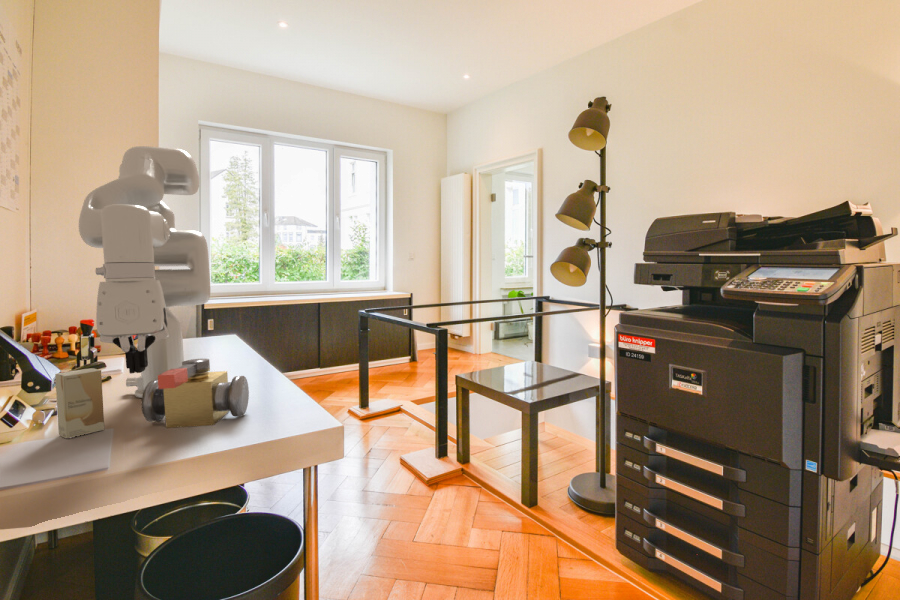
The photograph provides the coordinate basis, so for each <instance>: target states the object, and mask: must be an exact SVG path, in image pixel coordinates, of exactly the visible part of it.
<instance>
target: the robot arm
mask: <svg viewBox="0 0 900 600" xmlns="http://www.w3.org/2000/svg"><path fill="white" fill-rule="evenodd" d="M118 173H119V175H118V178H116V179H113V180H111V181H109V182H107V183H105V184H103V185H100V186H99V187H97V188H95V189H93V190H92V191H90V192H89V193H88V194H87V195H86V196H85V199H84V202H83V204H82V207H81V210H80V214H79V219H78V232H79V237H80V238H81V240H82V241H83V242H84V243H85V244H86V245H88V246H90V247H91V248H94V249H95V248H96V249H102V250H103V251H102V252H103V264H102V266H101V267H96V268H95V271H94V272H95V274H96V276H103V279H104V280H105V281H99V285H98V288H97V289H98V290H97V297H96V298H97V299H96V319H95V320H96V330H97V334H98V335H100V336H99V341H100V342H101V343H106V344H113V345H116V346H117V347H118V348H120V349H121V351H122V352H123V353H124V354H125V366H126V369H128V371H129V374H134V373H135V374H140V376H138V377H137V376H136V377H127V379H126V381H125V386H126V387H137V388H136V390H135V391H134V396H135V397H136V398H139V399H140V398H141V399H142V396H143V392H144V389H145V387H146V386H147V384H148V383H149V382H150V381H152V380H158V375H160V374H162V373H164V372H166V371H168V370H170V369H176V368H178V367H181V366H182V362H183V361H185V355H184V338H183V337H184V336H183V326H182V322H181V320H180V318H179V317H178V316H177V315H176V314H175V313H174V312H173V311H172V310H170V309H169V308H171V307H173V308H174V307H183V306H184V307H186V306H187V307H188V306H189V307H190V306H200V305H205V304H207V303H208V301H209V300H210V297H211V278H210V277H211V276H210V260H209V259H210V257H209V249H208V243H207V239H206V237H205V236H204V234H203V233H202V232H199V231H197V230H187V229H186V230H185V229H178V230H177V229H176V225H175V221H176V220H175V219H176V218H175V213H174V212H173V210H172V209H171V208H170V207H169V206H168V205H167V204H166V203H165V202H164V201H163V199H164V196H165V195H171V196H172V195H175V196H176V195H177V196H193V195H195V194H196V193H197V192H198V190H199V187H200V177H199V171H198V169H197V164H196V162H195V160H194V158H193V157H192V156H191V154H190V153H188V152H187V151H185V150H183V149H180V148H171V147H170V148H169V147H158V146H145V145H138V146H134V147H133V146H132V147H130V148H129V149H127V150H126V151H125V152H124V153H123V156H122V160H121V164H120V166H119V170H118ZM155 267H188V269H187V268H186V269H184V268H183V269H182V268H181V269H179V268H178V269H176V268H175V269H172V268H171V269H170V268H169V269H166V268H165V269H162V268H161V269H156V268H155ZM134 336H137V343H136V344H137V345H135V341H134Z"/></svg>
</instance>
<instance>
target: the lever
mask: <svg viewBox="0 0 900 600" xmlns="http://www.w3.org/2000/svg"><path fill="white" fill-rule="evenodd" d="M210 367H211V366H210V359H209V358H193V359H188V360H184V361H183V362H182V366H181V367H178V368H176V369H170V370H168V371H166V372H164V373H162V374H160V375H158V387H159V389H167V388H176V387H178V386H180V385H181V384H183V383H185V382H187V381H188V378H190V377H192V376H193V375H195V374H199V373H204V372H211V371H210V370H211V368H210Z"/></svg>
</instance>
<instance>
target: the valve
mask: <svg viewBox="0 0 900 600" xmlns="http://www.w3.org/2000/svg"><path fill="white" fill-rule="evenodd" d="M228 378H229V377H228V370H224V371H208V372H204V373H199V374H195V375H193V376H192V377H190V378H188V381H187V382H185V383H183V384H181V385H180V386H178V387H176V388H167V389H159V387H158V380H152V381H150V382H149V383H148V384H147V386H146V387H145V389H144V392H143V396H142V398H141V412H142V414H143V417H144V419H145V420H146V421H147V422H160V421H162V420H163V419H164V418H165V428H166V429H172V428H173V429H174V428H187V427H189V428H190V426H191V427H205V426H206V427H207V426H208V427H209V426H214V425H216V424H217V423H218V422H219V421H220V420H222V418H223V417H224V416H225V415H227V414H228V413H227V412H230V414H231V416H232V417H242V416H244V415H245V413H247V408H248V405H249V398H250V397H249V395H250V392H249V391H250V390H249V383H248V379H247V377H246V376H245V375H241V376H240V375H236V376H234V377H232V380H231V381H230V382H229V380H228ZM226 413H227V414H226Z"/></svg>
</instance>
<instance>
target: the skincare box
mask: <svg viewBox="0 0 900 600" xmlns="http://www.w3.org/2000/svg"><path fill="white" fill-rule="evenodd" d="M54 378H55V391H56V393H55V395H56V409H57V410H56V411H57V422H58V423H57V427H58V435H59V436H60V437H62V438H64V439H66V438H70V437H73V438H76V437H75V436H77V437H80V435H81V436H84V434H85V435H87V434H92V433H97V432H100V431H104V430H105V416H104V415H105V414H104V398H103V380H102V370H101V369H99V368H98V369H97V368H94V367H91V368H84V369H78V370H77V369H76V370H70V371H64V372H58V373H55V374H54ZM70 439H71V438H70Z"/></svg>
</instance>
